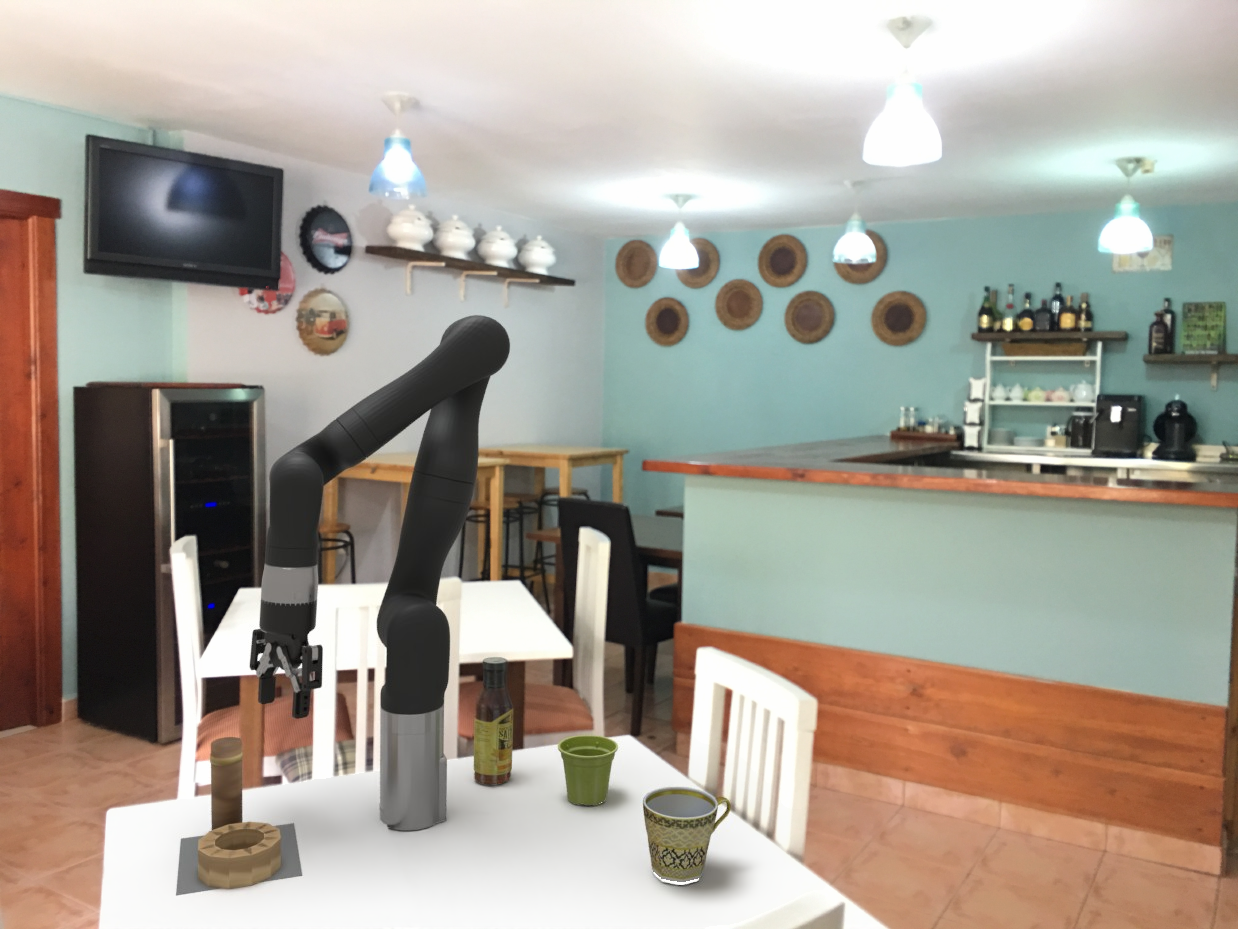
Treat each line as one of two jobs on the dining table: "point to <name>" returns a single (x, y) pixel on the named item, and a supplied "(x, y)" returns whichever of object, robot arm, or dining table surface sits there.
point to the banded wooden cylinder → (226, 781)
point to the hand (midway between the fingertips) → (282, 710)
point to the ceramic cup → (680, 830)
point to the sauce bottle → (493, 725)
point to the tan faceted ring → (239, 854)
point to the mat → (191, 884)
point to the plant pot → (587, 767)
